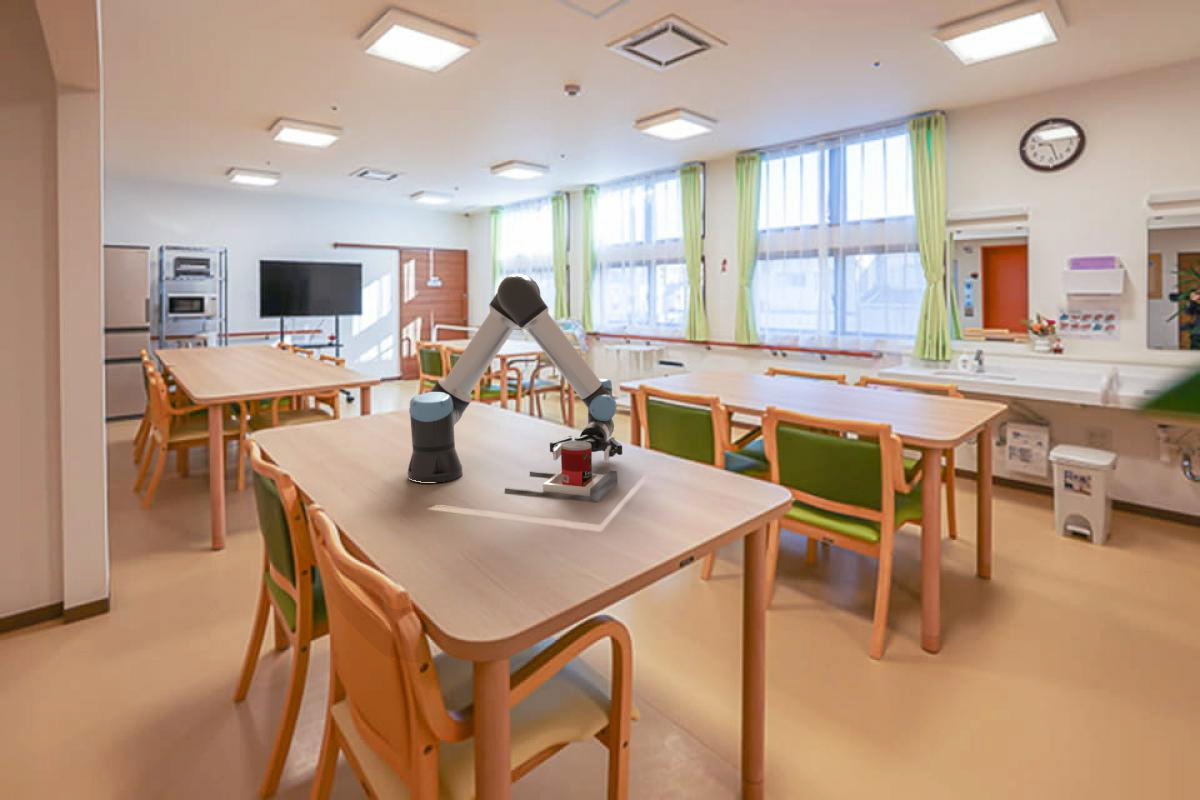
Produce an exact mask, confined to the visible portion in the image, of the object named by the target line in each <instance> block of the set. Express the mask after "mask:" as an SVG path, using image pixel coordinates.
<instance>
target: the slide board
mask: <svg viewBox="0 0 1200 800" xmlns="http://www.w3.org/2000/svg"><path fill="white" fill-rule="evenodd" d="M557 473H558V472H548V471H547V472H546V471H537V470H530V471H529V476H535V477H546V478H552V477H553V476H554V475H556V474H557ZM604 475H605V476H604V477H603V478H601V479H600V480H599V481H598V482H597V483H596V484H595V485H594V486H593V487H592V488H591V489H590V496H582V495H573V494H563V493H554V492H545V491H543V490H536V489H527V488H526V489H524V488H519V487H518V488H517V487H505V488H504V493H509V494H510V493H512V494H518V495H519V494H520V495H528V496H529V495H531V496H539V497H546V498H547V497H548V498H554V499H555V498H556V499H564V500H573V501H580V502H591V503H600V501H601V500H602V498H604V497H605V496H606V495H607V494H608V493H609V492H610V491H611V490H612V488H613V487H615V486H616V485H617V483H618V470H609V471H608V472H607V473H605V474H604Z"/></svg>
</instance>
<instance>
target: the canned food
mask: <svg viewBox="0 0 1200 800" xmlns="http://www.w3.org/2000/svg"><path fill="white" fill-rule="evenodd" d="M560 459H561V463H560V464H561V466H560V467H561V471H562V484H563V485H571V486H581V487H585V486H586V485H587V484H589V483H590V482H591V481H592V474H593V471H592V470H593V468H592V467H593V452H592V446H591V443H589V442H586V441H568V442H564V443H562V444H561V455H560Z"/></svg>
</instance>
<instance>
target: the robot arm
mask: <svg viewBox="0 0 1200 800" xmlns="http://www.w3.org/2000/svg"><path fill="white" fill-rule="evenodd" d="M488 307H489V314H487V316H486V318H485V319H484V321H483V322H482V323H481V326H480V327H479V328H478V330H476V332H475V334H474V336H473V337H472V339H471V340H470V342H469V343H468V344H467V346H466V347H465V349H464V350H463V352H462V353H461V355H460V356H459V358H458V359H457V361H456V362H455V363H454V365H453V367H452V369H451V370H450V371H449V373H448V374H447V375H446V377H443V378H439V379H437V381H436V382H435V384H434V386H432V389H431V390H430V392H429V391H428V392H423V393H421V394H417V395H414V396H413V397H412V398H411V399H410V401H409V409H408V410H409V415H410V429H411V430H410V432H411V443H412V454H411V456H410V460H409V461H410V462H409V464H408V469H407V478H408V477H409V478H410V479H412V480H416V481H421V482H443V481H448V482H450V481H449V480H452V481H454V480H453V479H455V480H457V479H459V478H460V477H462V476H463V466H462V463H461V460H460V458H459V454H458V452H457V450H456V443H455V442H456V441H455V429H454V428H455V425H456V424H457V423H458V422H459V421H460V420H461V418H462V417H463V413H465V411H466V409H467V408H468V406H469V405H470V404H471V402H472V395H471V393H472V392H473V390H474V388H475V387H476V386H477V384H478V383H479V381H480V380H481V378H482V377H483V376H484V374H485V373H486V371H487V370H488V368H489V367H490V365H491V364H492V362H493V361H494V359H495V358H496V357H497V355H498V353H499V352H500V351H501V349H502V348H503V346H504V345H505V344H506V342H507V340H508V339H509V338H510V336H511V334H512V333H513V332H514V330H516V329H519V328H520V329H521V330H525V331H527V332H528V333H529V335H530V336H531V337H532V338H533V340H534V341H535V342H536V344H537V345H538V346H539V348H540V349H541V350H542V351H543V353H544V354H545V355H546V356H547V358H548V359H549V360H550V362H551V363H552V364H553V365H554V366H555V368H556V369H557V371H558V372H560V374H561V376H562V377H563V378H564V379H565V381H566V382H567V383H568V384H569V386H570V387H571V388H572V389H573V391H574V392H575V393H576V394H577V396H578V397H579V398H580V400H581V401H582V402H583V404H584V405H585V406H586V407H587V425H586V427H584V429H583V430H582V431H581V433H580V436H579V437H578V436H577V437H575V438H573V436H572V435H567V437H564V438H561V439H557V440H554V441H551V442H549V452H550V453H552V455H553V458H552V459H553V461H557V460H558V459H559V458H561V444H562V443H564V442H568V441H586V442H589V443H591V446H592V453H596V452H603V462H604V463H608V462H609V460H610V458H613V457H614V456H616V454H617V455H618V456H621V455H623V445H622V444H621V443H620V442H619V441H617V440H616V439H615V437H611V436H612V434H613V432H614V428H615V424H614V423H615V422H614V420H613V417H614V416H615V415H616V413H617V407H618V406H617V405H618V404H617V401H616V399H615V398H614V397H613V386H612V380H610V379H608V378H599V377H598V376H597V375H596V373H594V371H593V370H592V368H591V367H590V366H589V364H588V363H587V362H586V360H585V359H584V358H583V357H582V356H581V354H580V353H579V352H578V350H577V349H576V348H575V346H574V345H573V344H572V342H571V341H570V340H569V338H568V337H567V336H566V335H565V334H564V332H563V331H562V330H561V328H560V327H559V325H558V324H557V323H556V321H555V320H554V319H553V318H552V316H551V315H550V314H549V306H547V304H546V302H545V301H544V300H543V298H542V297H541V291H540V286H539V284H538V283H537V282H536V281H535V279H533V278H532V277H531V276H529V275H526V274H521V273H515V274H510V275H508V276H506V277H504V279H503V280H502V281H501V282H500V284H499V285H498V288H497V292H496V294H495V295H494V296H493V298H492V300H491V301H490V303H489V304H488ZM461 475H462V476H461ZM456 478H457V479H456ZM443 483H444V482H443Z"/></svg>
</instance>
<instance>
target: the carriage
mask: <svg viewBox="0 0 1200 800" xmlns="http://www.w3.org/2000/svg"><path fill="white" fill-rule="evenodd" d="M556 473H557V474H556V475H554V476H553V477H549V479H548V480H546V481H545V482H544V483H542V489H543V490H542V491H545V492H554V493H563V494H573V495H582V496H590V489H591V488H592V487H593V486H594V485H595V484H596V483H597V482H598V481H599V480H600V479H601V478H603V477H604V476H605V475H606V474H602V473H600V474H599V473H592V481H591V482H590V483H589V484H587V485H586V486H585V487H581V486H571V485H563V484H562V470H559V472H556Z"/></svg>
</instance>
